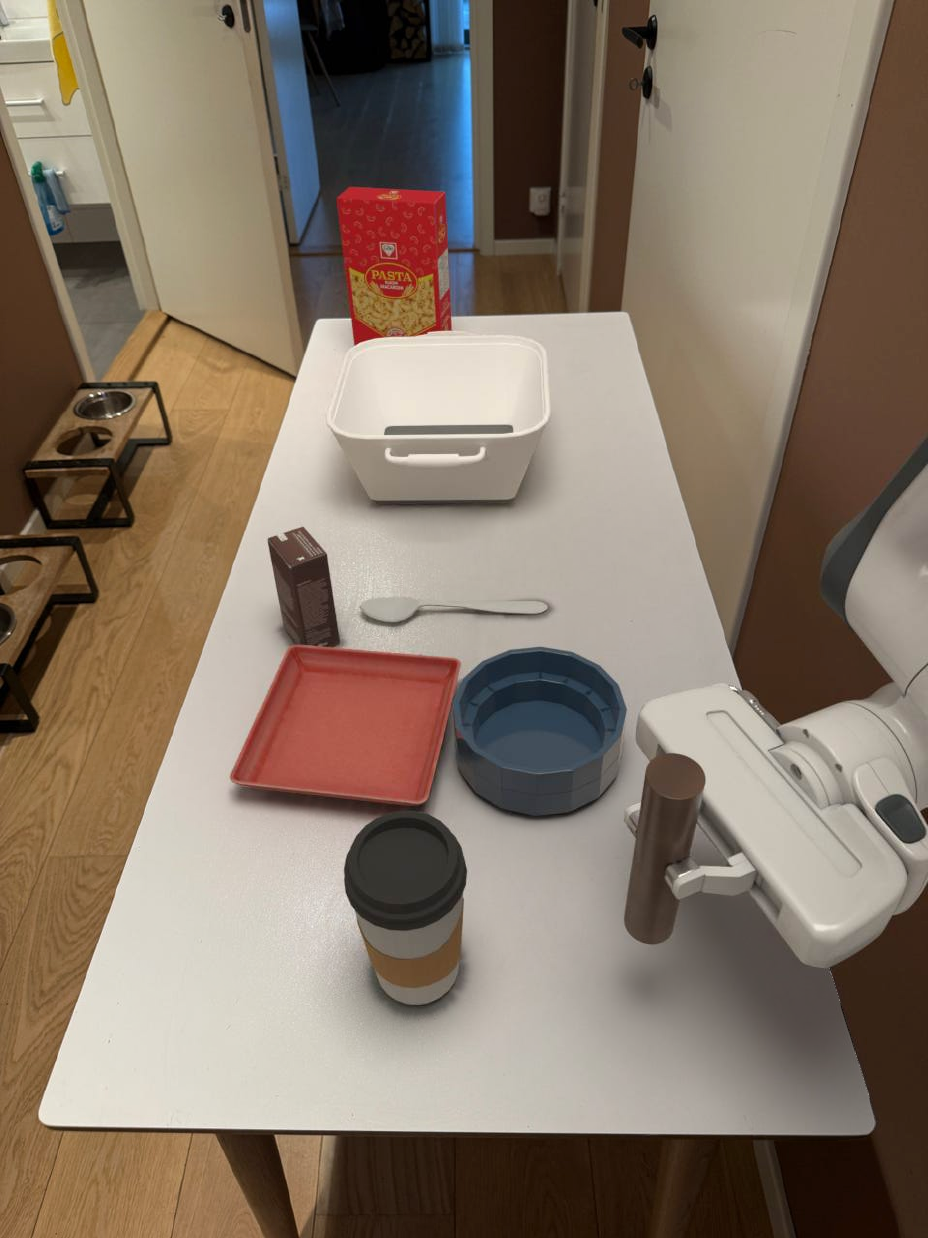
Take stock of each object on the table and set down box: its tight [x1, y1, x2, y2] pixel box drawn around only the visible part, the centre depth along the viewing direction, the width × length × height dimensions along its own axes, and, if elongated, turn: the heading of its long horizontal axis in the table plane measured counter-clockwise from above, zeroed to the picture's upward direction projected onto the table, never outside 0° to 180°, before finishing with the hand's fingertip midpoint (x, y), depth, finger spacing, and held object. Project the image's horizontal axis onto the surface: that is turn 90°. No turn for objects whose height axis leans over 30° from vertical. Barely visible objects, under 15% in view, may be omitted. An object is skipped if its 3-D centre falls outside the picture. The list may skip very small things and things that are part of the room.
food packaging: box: [336, 186, 453, 347], centre depth 141 cm, size 15×5×25 cm, turn 74°
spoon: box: [359, 596, 549, 623], centre depth 101 cm, size 4×21×2 cm, turn 91°
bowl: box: [452, 646, 628, 817], centre depth 84 cm, size 15×15×6 cm
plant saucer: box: [229, 644, 462, 807], centre depth 88 cm, size 18×18×3 cm
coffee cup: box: [343, 810, 468, 1006], centre depth 66 cm, size 8×8×15 cm
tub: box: [325, 330, 552, 505], centre depth 120 cm, size 34×27×13 cm
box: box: [267, 526, 341, 648], centre depth 96 cm, size 6×4×12 cm
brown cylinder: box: [623, 753, 706, 946], centre depth 58 cm, size 3×3×16 cm
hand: (649, 853), depth 58 cm, fingers closed on brown cylinder, 3 cm apart
